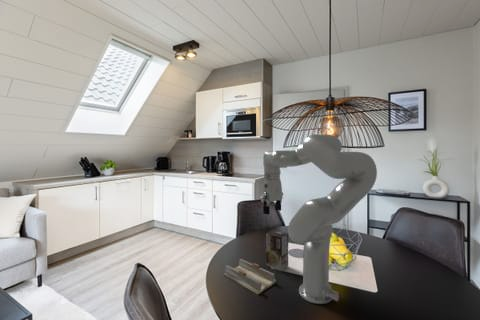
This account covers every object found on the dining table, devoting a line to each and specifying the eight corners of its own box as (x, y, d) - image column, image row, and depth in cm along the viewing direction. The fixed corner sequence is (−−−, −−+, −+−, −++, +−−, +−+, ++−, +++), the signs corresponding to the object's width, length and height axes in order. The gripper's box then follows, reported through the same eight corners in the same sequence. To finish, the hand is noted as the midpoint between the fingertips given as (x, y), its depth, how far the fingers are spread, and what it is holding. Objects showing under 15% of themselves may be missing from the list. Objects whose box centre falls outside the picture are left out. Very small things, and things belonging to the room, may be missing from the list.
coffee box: (288, 266, 115) (289, 233, 114) (281, 271, 110) (282, 237, 110) (273, 260, 121) (273, 229, 120) (265, 265, 116) (265, 232, 116)
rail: (242, 266, 116) (242, 256, 115) (276, 282, 102) (276, 271, 101) (223, 275, 107) (223, 265, 107) (257, 294, 93) (257, 282, 93)
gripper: (267, 178, 106) (268, 217, 106) (288, 175, 119) (288, 210, 119) (254, 177, 111) (255, 214, 112) (275, 175, 124) (276, 207, 124)
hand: (272, 212), depth 115 cm, fingers open, 9 cm apart
